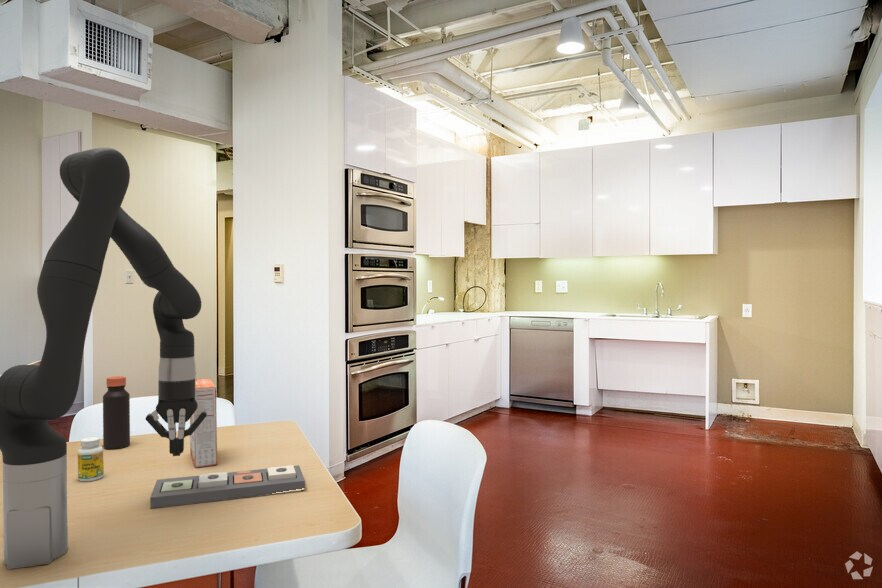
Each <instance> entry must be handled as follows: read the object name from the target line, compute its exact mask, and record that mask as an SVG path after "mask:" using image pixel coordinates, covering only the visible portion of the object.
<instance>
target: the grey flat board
mask: <svg viewBox="0 0 882 588" xmlns="http://www.w3.org/2000/svg"><path fill="white" fill-rule="evenodd" d="M293 466H294V469H295V472H296V478H290V479H281V480H272V481H268V476H267V468H261V469H252V470H251V469H250V470H240V471H230V472H229V471H228V472H227V485H225V486H216V487H207V488H198V482H199V475H191V476H190V475H189V476H182V477H179V476H178V477H172V478H171V477H170V478H160V479H156V481H155V483H154V486H153V489H152V492H151V495H150V497H149V498H150V500H149V502H150V503H149V504H150V509H159V508H165V507H166V508H167V507H177V506H184V505H185V506H186V505H193V504H200V503H201V504H202V503H211V502H218V501H228V499H229V500H235V499H236V498H238V499H244V498H243V497H246V498H255V497H260V496H259V495H264V496H267V495H266V494H272V493H276V492H283V491H289V490H296V489H302V488H305V489H306V480H305V476H304V474H303V471H302V469H301V467H300V465H299V464H298V465H293ZM260 472H261V476H262V482H253V483H244V484H235V485H234V475H241V474H251V473H260ZM183 480H193V488H192V489H188V490H179V491H170V492H161V490H162V487H163V484H164V482H174V481H183ZM272 495H273V494H272ZM254 496H255V497H254Z"/></svg>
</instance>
